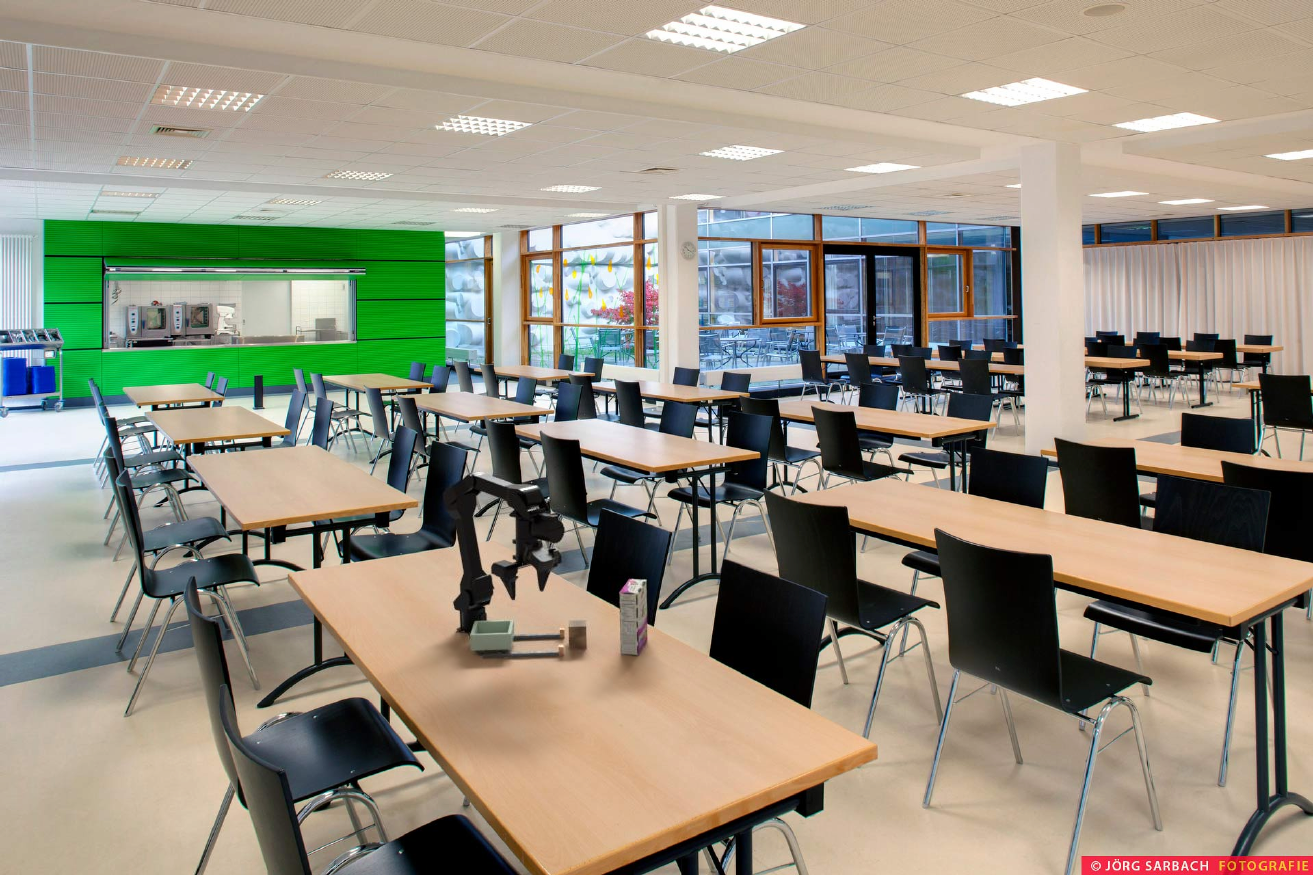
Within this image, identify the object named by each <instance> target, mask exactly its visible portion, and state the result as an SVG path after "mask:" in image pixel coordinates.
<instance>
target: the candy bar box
mask: <svg viewBox="0 0 1313 875" xmlns="http://www.w3.org/2000/svg"><path fill="white" fill-rule="evenodd" d="M618 593H619V625H620V626H619V627H620V628H619V629H620V634H619V636H620V639H619V640H620V654H621V655H624V656H640V654H641V651H642V650H643V648H644V646H645V645H646V643H647V642H648V603H647V602H648V601H647V600H648V599H647V598H648V597H647V596H648V594H647V593H648V591H647V579H641V578H640V579H637V578H636V579H635V578H629V579H628V580H627V582H626V583H625V585H624V586H623V587H622V588H621V590H620V591H619V592H618Z"/></svg>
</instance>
